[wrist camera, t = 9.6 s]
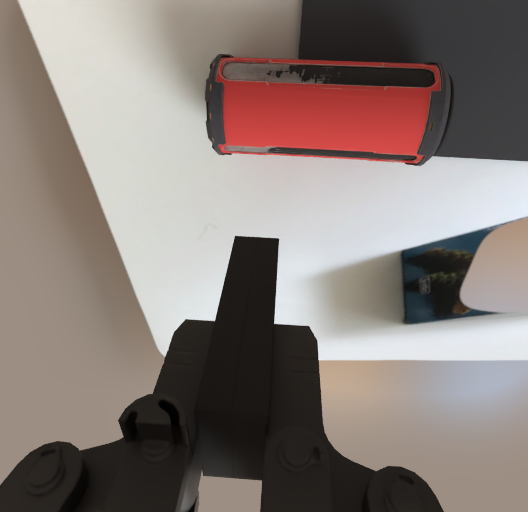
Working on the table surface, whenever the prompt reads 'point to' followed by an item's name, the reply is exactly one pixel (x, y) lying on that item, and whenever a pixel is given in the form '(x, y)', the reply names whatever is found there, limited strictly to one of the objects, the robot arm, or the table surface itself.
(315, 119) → the speaker
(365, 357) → the table surface
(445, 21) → the mat
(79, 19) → the table surface
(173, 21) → the table surface
